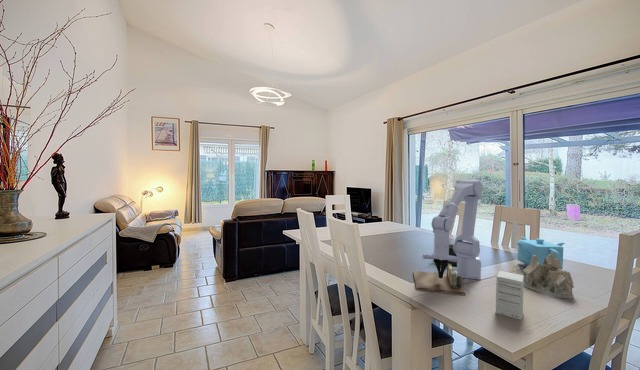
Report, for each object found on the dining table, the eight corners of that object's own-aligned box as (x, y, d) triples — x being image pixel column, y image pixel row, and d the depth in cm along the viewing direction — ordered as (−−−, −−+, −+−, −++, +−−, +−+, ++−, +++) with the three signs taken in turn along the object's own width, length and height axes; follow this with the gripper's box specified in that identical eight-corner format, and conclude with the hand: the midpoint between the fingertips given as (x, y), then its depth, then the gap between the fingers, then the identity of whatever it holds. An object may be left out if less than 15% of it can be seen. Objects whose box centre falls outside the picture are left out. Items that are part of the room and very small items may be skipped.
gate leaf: (446, 274, 128) (446, 263, 128) (451, 275, 127) (451, 264, 127) (451, 287, 113) (451, 275, 113) (456, 288, 112) (457, 276, 112)
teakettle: (560, 277, 129) (561, 245, 128) (511, 267, 143) (512, 238, 142) (564, 268, 142) (566, 239, 142) (519, 259, 156) (521, 233, 155)
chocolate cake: (453, 256, 162) (454, 240, 161) (479, 268, 142) (480, 249, 142) (422, 258, 158) (422, 241, 157) (444, 270, 138) (445, 251, 138)
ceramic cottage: (518, 279, 127) (521, 246, 125) (565, 287, 119) (569, 252, 118) (525, 294, 113) (528, 258, 111) (578, 304, 105) (583, 266, 104)
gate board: (455, 276, 129) (455, 265, 129) (465, 295, 109) (466, 282, 109) (413, 272, 133) (413, 262, 133) (416, 289, 114) (416, 277, 114)
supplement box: (497, 305, 101) (499, 270, 101) (523, 311, 97) (524, 275, 96) (494, 312, 96) (495, 276, 95) (521, 320, 91) (523, 281, 90)
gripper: (422, 245, 117) (422, 278, 117) (462, 249, 112) (461, 283, 112) (422, 241, 123) (422, 272, 124) (459, 245, 118) (458, 277, 119)
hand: (440, 277), depth 118 cm, fingers closed
